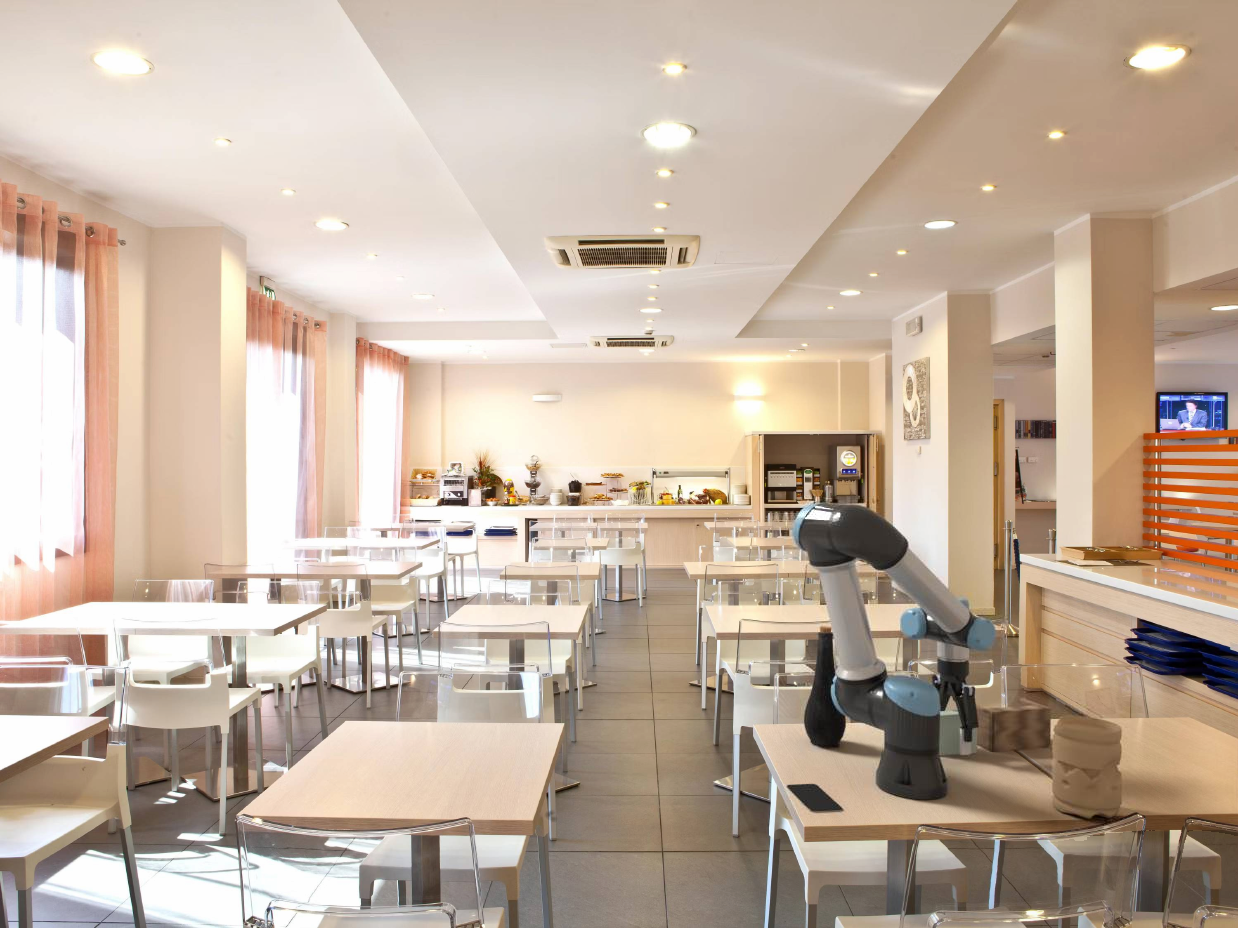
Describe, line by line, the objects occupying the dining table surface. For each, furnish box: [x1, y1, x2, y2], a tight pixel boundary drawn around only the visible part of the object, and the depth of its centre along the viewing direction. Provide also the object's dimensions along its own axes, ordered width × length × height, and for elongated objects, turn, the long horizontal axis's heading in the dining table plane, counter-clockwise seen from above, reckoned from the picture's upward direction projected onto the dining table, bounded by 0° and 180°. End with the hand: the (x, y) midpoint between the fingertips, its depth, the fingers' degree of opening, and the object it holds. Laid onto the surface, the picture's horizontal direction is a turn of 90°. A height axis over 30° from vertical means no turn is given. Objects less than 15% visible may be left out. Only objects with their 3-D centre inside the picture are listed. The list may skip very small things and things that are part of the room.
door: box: [939, 709, 978, 756], centre depth 208 cm, size 12×3×10 cm, turn 105°
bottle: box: [803, 626, 847, 749], centre depth 213 cm, size 11×11×30 cm
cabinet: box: [976, 697, 1052, 752], centre depth 218 cm, size 18×16×10 cm
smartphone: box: [785, 783, 844, 814], centre depth 176 cm, size 7×1×15 cm
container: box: [1051, 714, 1123, 820], centre depth 172 cm, size 13×13×18 cm
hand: (952, 747), depth 208 cm, fingers open, 9 cm apart
